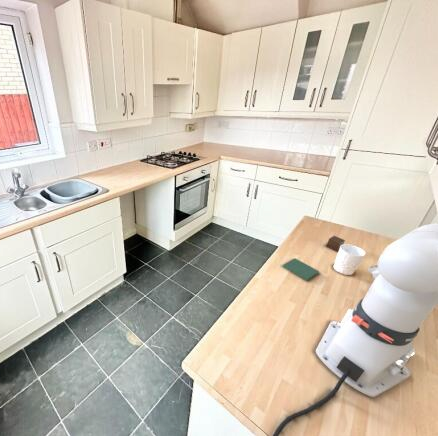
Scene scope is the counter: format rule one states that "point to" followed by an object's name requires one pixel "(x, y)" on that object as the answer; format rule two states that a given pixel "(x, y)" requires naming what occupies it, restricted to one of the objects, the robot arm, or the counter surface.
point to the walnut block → (335, 243)
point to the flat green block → (301, 269)
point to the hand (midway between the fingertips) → (370, 269)
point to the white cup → (348, 259)
